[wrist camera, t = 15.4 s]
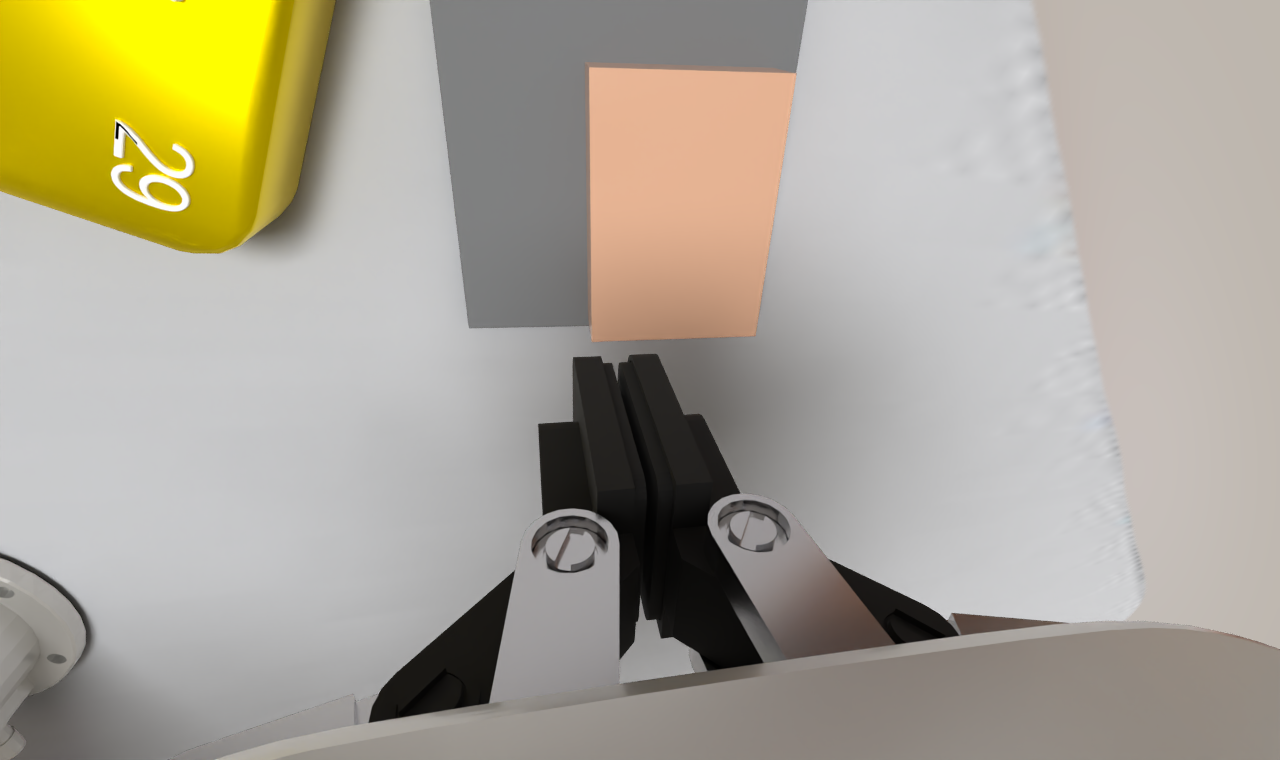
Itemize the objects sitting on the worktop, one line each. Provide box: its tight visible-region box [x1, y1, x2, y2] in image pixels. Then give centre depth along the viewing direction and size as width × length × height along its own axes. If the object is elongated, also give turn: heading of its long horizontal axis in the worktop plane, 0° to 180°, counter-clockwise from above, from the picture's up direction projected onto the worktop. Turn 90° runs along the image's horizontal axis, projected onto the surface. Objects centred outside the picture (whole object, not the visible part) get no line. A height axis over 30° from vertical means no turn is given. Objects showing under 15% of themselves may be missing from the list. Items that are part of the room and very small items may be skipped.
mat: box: [430, 0, 808, 328], centre depth 22 cm, size 17×13×1 cm
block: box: [585, 62, 797, 342], centre depth 23 cm, size 10×2×7 cm
